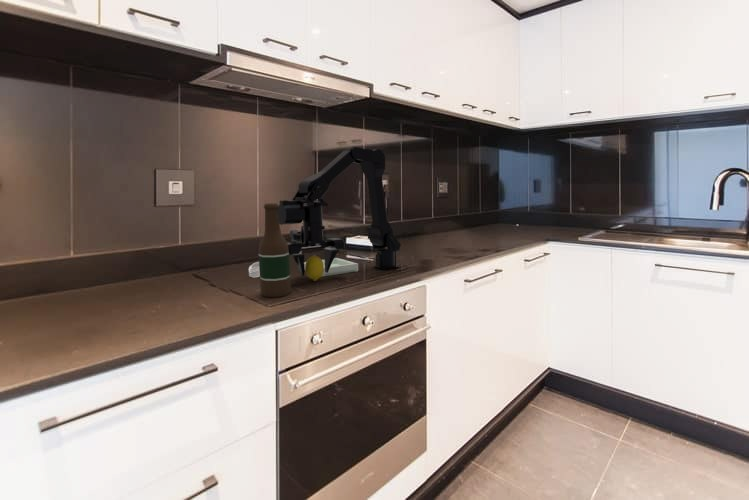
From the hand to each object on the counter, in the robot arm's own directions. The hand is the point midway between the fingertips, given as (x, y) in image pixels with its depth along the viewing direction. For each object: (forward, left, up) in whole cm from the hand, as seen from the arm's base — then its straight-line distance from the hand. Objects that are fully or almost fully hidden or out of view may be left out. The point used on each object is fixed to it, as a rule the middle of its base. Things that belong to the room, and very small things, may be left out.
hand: (314, 274), depth 122 cm
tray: (-11, -11, -2) cm, 16 cm away
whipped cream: (+11, -18, -2) cm, 21 cm away
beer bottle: (+15, +7, -2) cm, 17 cm away
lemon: (0, 0, -2) cm, 2 cm away
